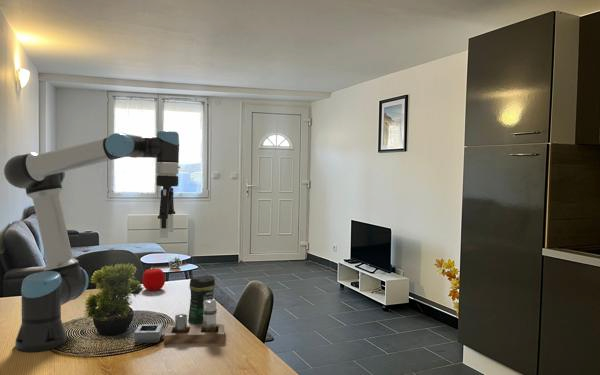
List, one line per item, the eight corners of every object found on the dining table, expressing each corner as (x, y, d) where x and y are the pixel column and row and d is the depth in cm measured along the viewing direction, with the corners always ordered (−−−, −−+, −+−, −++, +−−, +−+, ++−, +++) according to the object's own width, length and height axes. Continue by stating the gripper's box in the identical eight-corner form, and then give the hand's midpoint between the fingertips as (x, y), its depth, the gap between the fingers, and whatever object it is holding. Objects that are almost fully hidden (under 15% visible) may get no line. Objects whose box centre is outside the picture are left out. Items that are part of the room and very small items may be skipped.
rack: (163, 347, 160) (164, 335, 160) (167, 336, 170) (168, 325, 170) (223, 345, 163) (224, 334, 163) (224, 335, 173) (224, 324, 172)
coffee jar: (197, 328, 179) (198, 279, 178) (185, 323, 184) (185, 276, 183) (217, 322, 186) (218, 275, 185) (205, 317, 191) (206, 272, 191)
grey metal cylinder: (202, 340, 164) (202, 303, 164) (203, 335, 169) (203, 299, 168) (216, 339, 165) (216, 303, 164) (216, 335, 170) (217, 299, 169)
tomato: (164, 292, 227) (165, 270, 227) (141, 293, 224) (142, 270, 224) (164, 286, 237) (165, 265, 237) (142, 287, 234) (142, 266, 234)
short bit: (174, 340, 163) (174, 317, 163) (175, 336, 167) (175, 314, 167) (186, 340, 164) (186, 317, 163) (187, 336, 168) (187, 313, 167)
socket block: (134, 345, 160) (134, 332, 160) (138, 337, 168) (139, 324, 168) (158, 344, 162) (158, 332, 161) (162, 336, 169) (162, 324, 169)
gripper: (174, 176, 155) (173, 240, 156) (182, 174, 180) (181, 229, 181) (150, 175, 154) (149, 240, 155) (161, 173, 179) (160, 229, 180)
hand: (166, 234), depth 168 cm, fingers open, 13 cm apart
